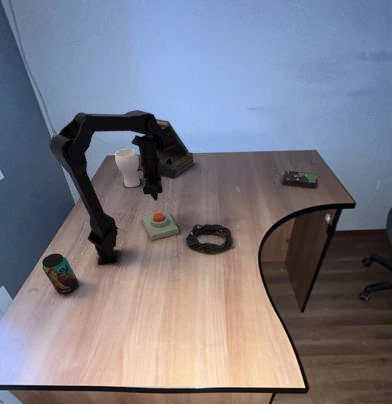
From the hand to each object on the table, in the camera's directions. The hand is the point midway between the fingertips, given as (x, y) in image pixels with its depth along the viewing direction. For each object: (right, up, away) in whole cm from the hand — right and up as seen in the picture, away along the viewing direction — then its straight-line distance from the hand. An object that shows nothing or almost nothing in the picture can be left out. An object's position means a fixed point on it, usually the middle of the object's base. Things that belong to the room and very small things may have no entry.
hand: (156, 200), depth 98 cm
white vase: (-17, +19, +35) cm, 44 cm away
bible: (-2, +33, +48) cm, 58 cm away
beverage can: (-26, -32, -12) cm, 44 cm away
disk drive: (+65, +19, +31) cm, 74 cm away
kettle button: (0, -6, +6) cm, 8 cm away
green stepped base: (0, -8, +9) cm, 12 cm away
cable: (+20, -16, +1) cm, 25 cm away
